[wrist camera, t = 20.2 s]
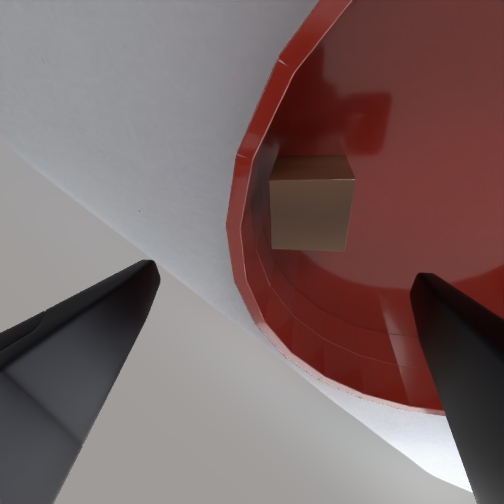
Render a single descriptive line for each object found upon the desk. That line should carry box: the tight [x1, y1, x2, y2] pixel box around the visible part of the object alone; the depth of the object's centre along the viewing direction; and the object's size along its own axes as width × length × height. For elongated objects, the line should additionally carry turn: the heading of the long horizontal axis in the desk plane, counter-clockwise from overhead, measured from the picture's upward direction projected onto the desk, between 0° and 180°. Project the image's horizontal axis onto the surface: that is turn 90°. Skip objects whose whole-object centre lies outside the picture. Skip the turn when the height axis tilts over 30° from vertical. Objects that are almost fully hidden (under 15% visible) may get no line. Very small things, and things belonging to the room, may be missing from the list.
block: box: [268, 155, 356, 251], centre depth 15 cm, size 4×4×4 cm
